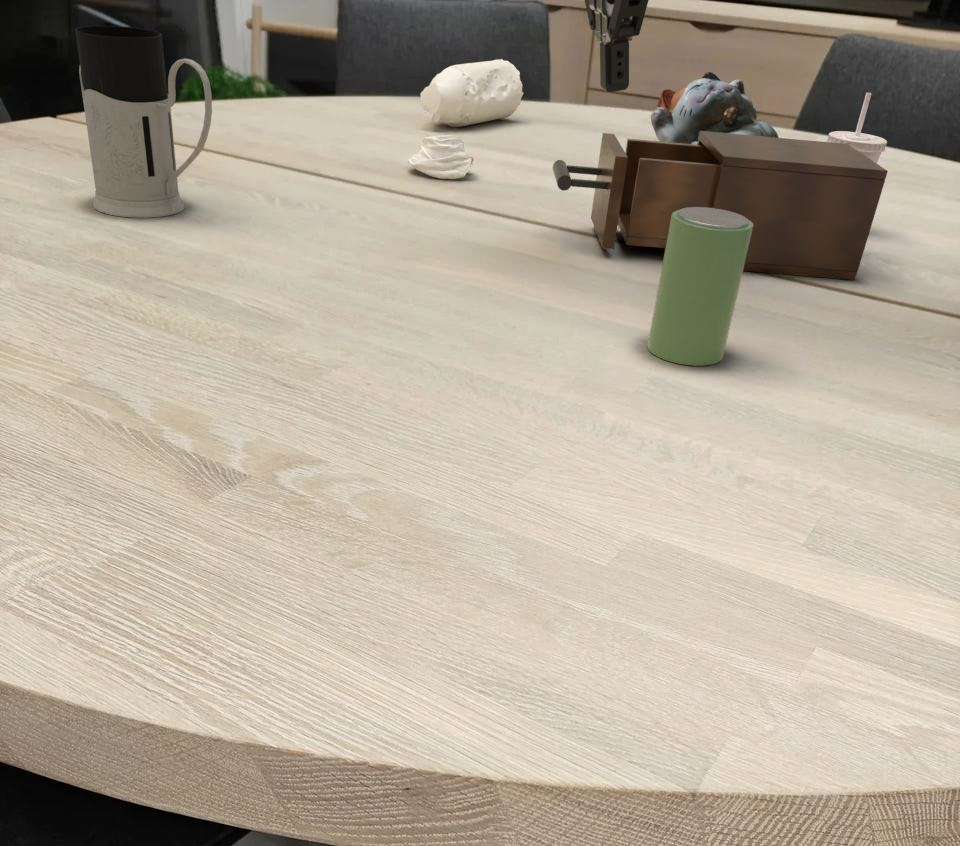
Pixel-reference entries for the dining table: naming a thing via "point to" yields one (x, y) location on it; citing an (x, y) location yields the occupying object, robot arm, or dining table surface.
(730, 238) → the can
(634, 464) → the dining table surface
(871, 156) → the smoothie
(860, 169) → the cabinet
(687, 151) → the drawer
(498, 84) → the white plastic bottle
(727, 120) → the lucky cat figurine
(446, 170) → the whipped cream
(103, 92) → the glass holder
